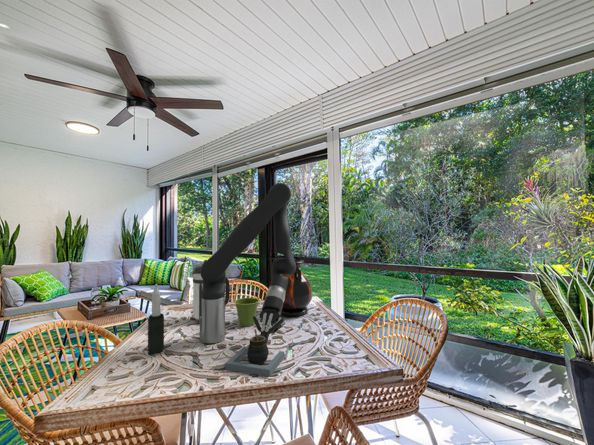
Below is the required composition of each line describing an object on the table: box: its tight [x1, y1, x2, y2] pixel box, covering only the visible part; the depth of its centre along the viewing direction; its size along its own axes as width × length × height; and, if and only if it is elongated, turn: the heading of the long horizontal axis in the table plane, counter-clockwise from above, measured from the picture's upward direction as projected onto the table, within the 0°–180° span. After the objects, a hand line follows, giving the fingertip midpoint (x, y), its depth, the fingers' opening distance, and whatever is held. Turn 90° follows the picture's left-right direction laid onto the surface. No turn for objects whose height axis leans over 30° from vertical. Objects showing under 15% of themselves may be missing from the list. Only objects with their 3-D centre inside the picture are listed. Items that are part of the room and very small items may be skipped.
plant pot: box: [234, 297, 260, 328], centre depth 133 cm, size 12×12×11 cm
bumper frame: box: [224, 346, 286, 377], centre depth 95 cm, size 16×13×2 cm
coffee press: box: [189, 259, 230, 325], centre depth 142 cm, size 17×16×30 cm
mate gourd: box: [246, 328, 270, 366], centre depth 96 cm, size 7×8×10 cm
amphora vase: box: [281, 259, 313, 317], centre depth 152 cm, size 22×22×28 cm
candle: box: [147, 283, 165, 356], centre depth 105 cm, size 5×5×25 cm
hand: (262, 343), depth 99 cm, fingers closed
